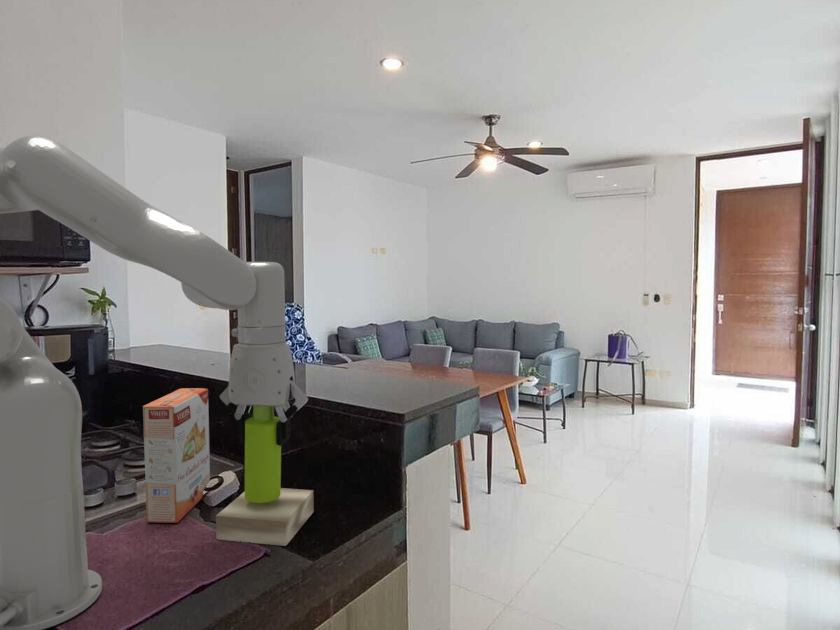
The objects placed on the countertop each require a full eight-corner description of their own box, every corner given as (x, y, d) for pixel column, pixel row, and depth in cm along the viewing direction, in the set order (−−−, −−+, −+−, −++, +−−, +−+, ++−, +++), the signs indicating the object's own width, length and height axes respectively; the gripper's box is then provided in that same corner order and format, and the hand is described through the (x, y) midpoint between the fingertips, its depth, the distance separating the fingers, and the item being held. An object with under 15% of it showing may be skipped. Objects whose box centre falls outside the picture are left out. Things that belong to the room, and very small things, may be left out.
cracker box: (180, 524, 91) (174, 405, 89) (145, 524, 91) (139, 405, 89) (213, 490, 105) (209, 386, 103) (183, 490, 105) (178, 386, 103)
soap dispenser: (291, 497, 90) (292, 381, 88) (249, 505, 86) (250, 385, 84) (280, 484, 95) (282, 374, 93) (240, 492, 91) (241, 377, 89)
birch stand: (285, 545, 84) (285, 521, 84) (216, 539, 86) (215, 515, 86) (313, 511, 96) (313, 490, 95) (252, 506, 98) (251, 485, 98)
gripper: (201, 337, 86) (205, 446, 87) (302, 340, 83) (304, 452, 84) (226, 332, 93) (229, 432, 95) (319, 334, 90) (320, 437, 92)
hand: (264, 440), depth 90 cm, fingers closed on soap dispenser, 5 cm apart
